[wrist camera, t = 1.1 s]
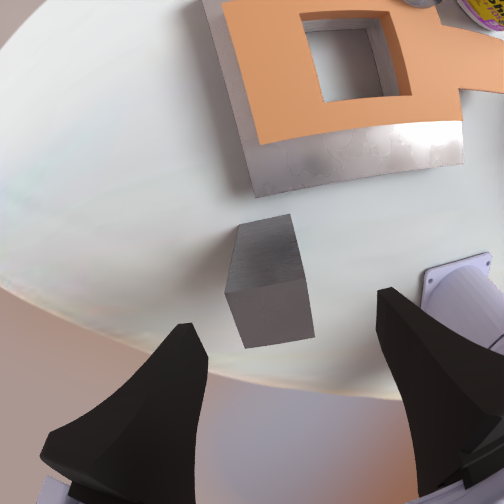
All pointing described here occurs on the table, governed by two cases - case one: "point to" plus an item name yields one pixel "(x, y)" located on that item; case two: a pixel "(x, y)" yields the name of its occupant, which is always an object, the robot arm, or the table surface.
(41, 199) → the table surface
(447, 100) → the bracket
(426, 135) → the peg hole board
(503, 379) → the robot arm
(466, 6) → the supplement bottle
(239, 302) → the grey metal square peg
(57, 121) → the table surface
